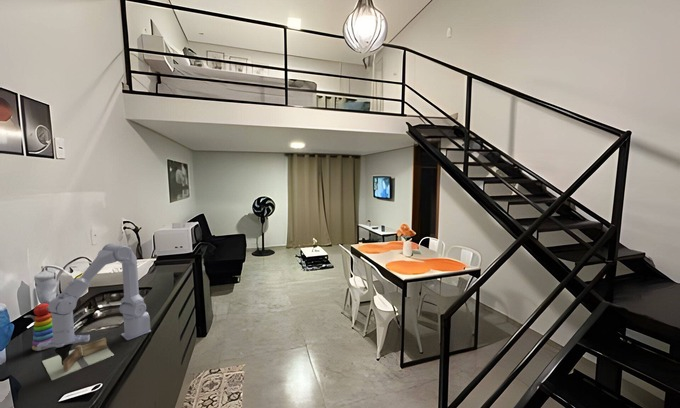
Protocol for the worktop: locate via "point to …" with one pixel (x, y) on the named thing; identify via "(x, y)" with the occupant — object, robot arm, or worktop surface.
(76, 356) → the fence panel
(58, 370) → the card
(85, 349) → the fence
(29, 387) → the worktop surface
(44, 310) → the stacking toy
